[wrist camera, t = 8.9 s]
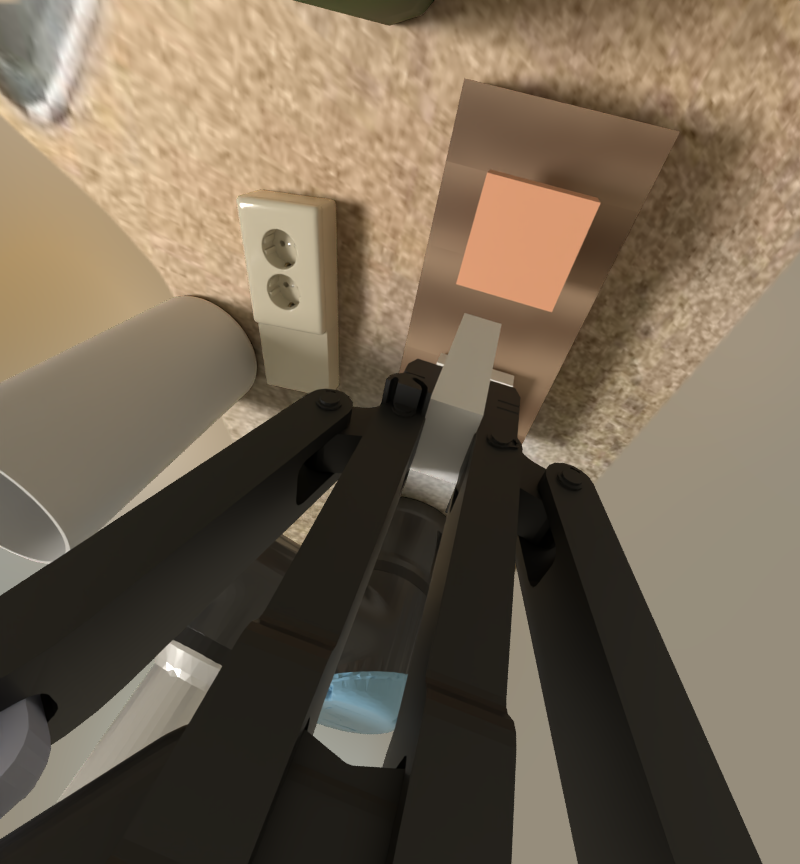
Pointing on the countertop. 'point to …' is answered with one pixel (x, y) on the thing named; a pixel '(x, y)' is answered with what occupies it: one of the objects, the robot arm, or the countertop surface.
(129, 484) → the cylinder vase
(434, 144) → the countertop surface
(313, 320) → the electrical outlet
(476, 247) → the plug terracotta
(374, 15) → the bottle
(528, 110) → the block
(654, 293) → the countertop surface
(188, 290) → the countertop surface
